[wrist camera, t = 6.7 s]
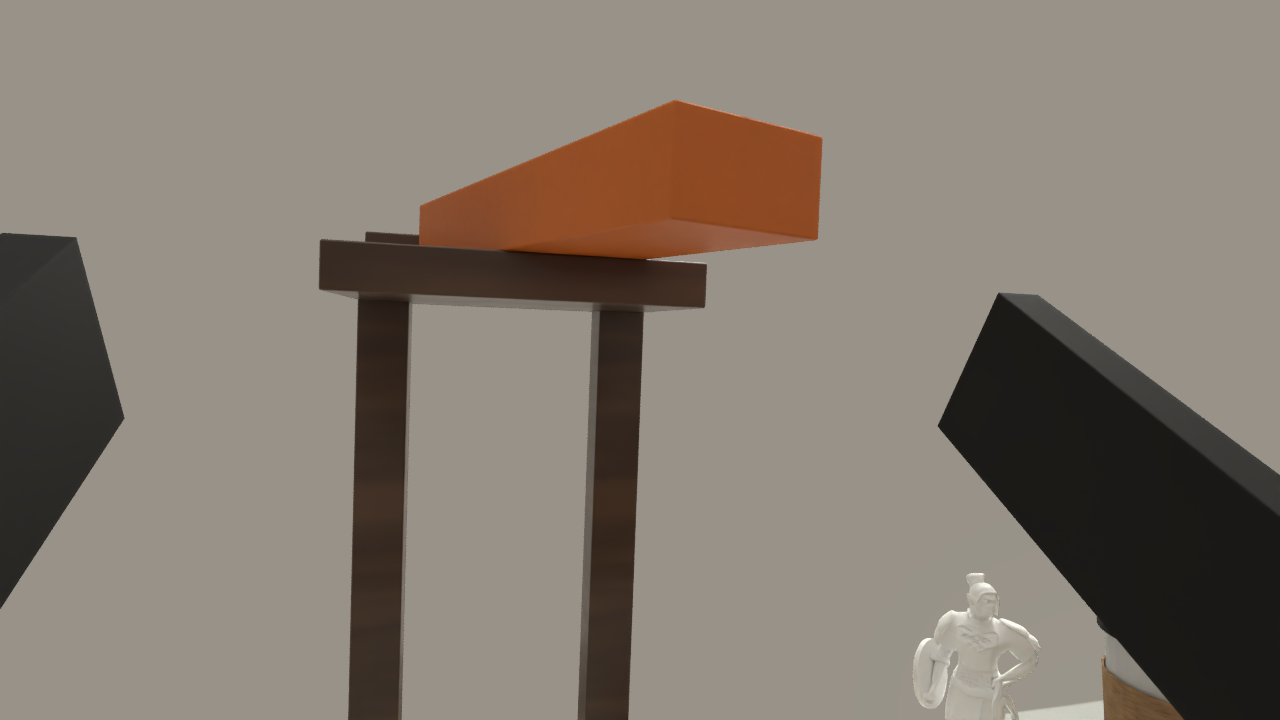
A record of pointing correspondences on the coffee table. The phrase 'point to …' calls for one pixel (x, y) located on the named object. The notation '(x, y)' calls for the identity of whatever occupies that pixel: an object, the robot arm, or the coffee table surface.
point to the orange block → (645, 191)
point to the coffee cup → (1130, 687)
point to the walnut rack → (386, 289)
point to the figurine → (973, 659)
